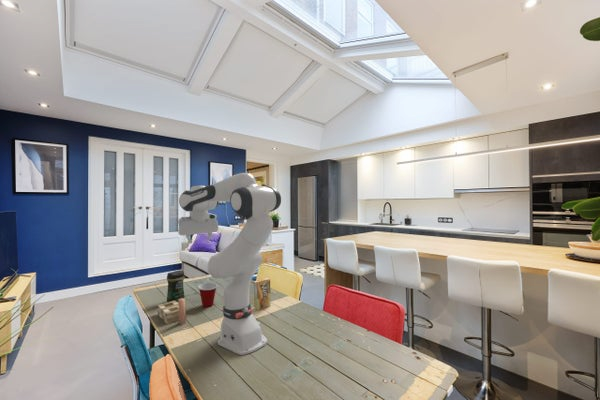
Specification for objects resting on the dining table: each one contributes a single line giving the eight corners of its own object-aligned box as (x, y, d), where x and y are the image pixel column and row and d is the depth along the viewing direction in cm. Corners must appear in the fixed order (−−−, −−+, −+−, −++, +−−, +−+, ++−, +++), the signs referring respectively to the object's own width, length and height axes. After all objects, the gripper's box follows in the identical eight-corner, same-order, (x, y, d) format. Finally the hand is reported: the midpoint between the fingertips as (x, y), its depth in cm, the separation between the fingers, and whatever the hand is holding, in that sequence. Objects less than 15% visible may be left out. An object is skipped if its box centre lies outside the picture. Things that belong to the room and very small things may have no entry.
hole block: (185, 318, 134) (185, 308, 134) (167, 324, 128) (167, 314, 128) (175, 309, 146) (175, 300, 146) (157, 314, 139) (157, 305, 139)
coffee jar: (172, 305, 151) (171, 274, 151) (164, 302, 155) (164, 272, 155) (187, 299, 159) (186, 270, 159) (179, 297, 163) (179, 268, 164)
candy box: (267, 303, 151) (266, 277, 151) (270, 305, 148) (270, 279, 148) (253, 307, 146) (253, 281, 146) (257, 310, 142) (257, 282, 142)
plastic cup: (204, 311, 142) (204, 289, 142) (194, 306, 149) (194, 286, 149) (221, 304, 151) (221, 284, 151) (211, 300, 158) (210, 281, 158)
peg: (186, 323, 128) (185, 299, 128) (180, 325, 126) (179, 301, 126) (183, 321, 131) (183, 297, 131) (177, 323, 128) (177, 299, 129)
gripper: (180, 217, 125) (181, 245, 125) (219, 215, 139) (219, 240, 139) (176, 217, 130) (176, 244, 130) (214, 214, 144) (214, 239, 144)
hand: (199, 242), depth 135 cm, fingers open, 8 cm apart
